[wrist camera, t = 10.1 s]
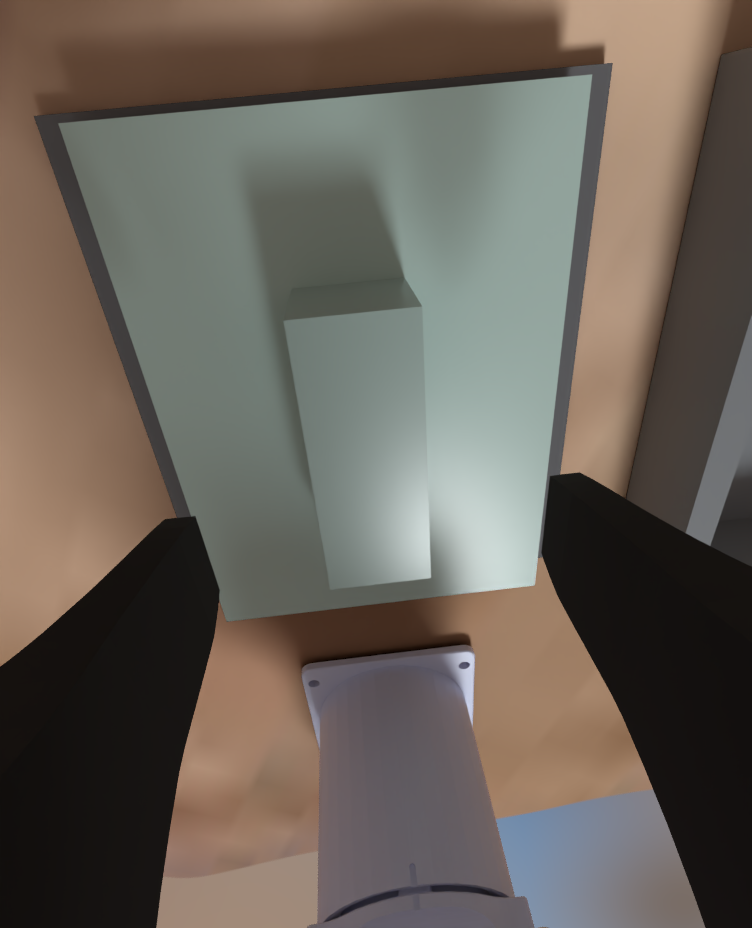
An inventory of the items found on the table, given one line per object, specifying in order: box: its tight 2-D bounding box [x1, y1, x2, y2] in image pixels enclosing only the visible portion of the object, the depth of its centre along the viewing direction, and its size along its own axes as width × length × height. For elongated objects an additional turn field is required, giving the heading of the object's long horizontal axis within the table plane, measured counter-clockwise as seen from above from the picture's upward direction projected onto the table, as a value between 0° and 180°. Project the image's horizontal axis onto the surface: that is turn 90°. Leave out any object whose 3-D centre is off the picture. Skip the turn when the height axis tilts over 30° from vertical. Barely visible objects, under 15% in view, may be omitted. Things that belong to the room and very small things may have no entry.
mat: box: [34, 63, 613, 558], centre depth 17 cm, size 16×14×1 cm
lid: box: [58, 74, 592, 622], centre depth 15 cm, size 16×12×4 cm
